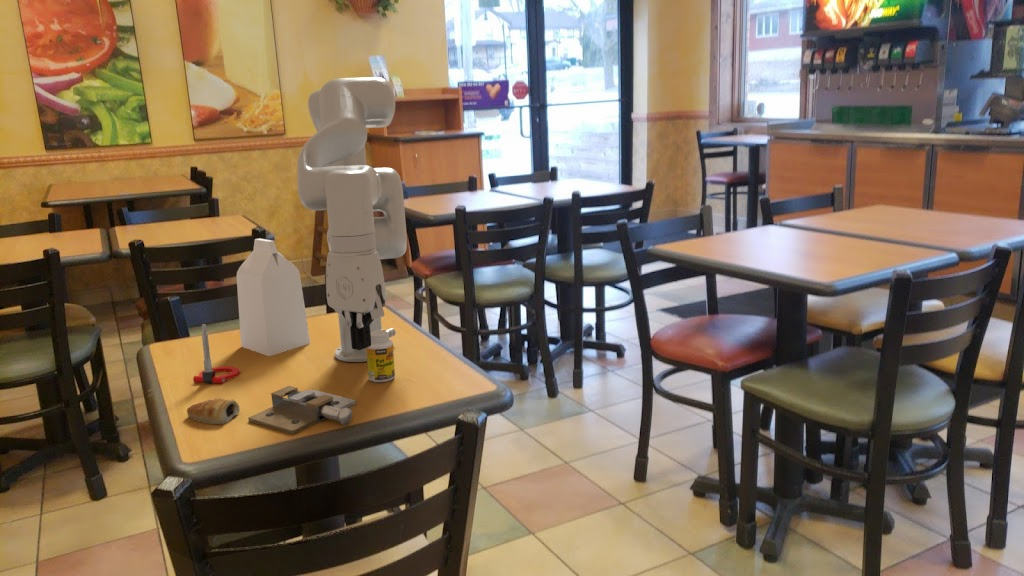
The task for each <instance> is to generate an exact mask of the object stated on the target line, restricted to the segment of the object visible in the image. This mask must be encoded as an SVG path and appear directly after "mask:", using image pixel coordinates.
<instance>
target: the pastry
mask: <svg viewBox="0 0 1024 576" xmlns="http://www.w3.org/2000/svg"><path fill="white" fill-rule="evenodd" d="M240 410H241V409H240V405H239V403H238V402H237V401H236V400H235V399H233V398H232V399H225V398H220V397H219V398H218V397H217V398H214V399H208V400H205V401H202V402H198V403H195V404H192V405H191V406H189V407H187V409H186V412H187V416H188V417H189V418H190V419H191V420H194V419H195V421H196V420H197V422H198V423H203V424H209V425H224V424H227V423H229V422H230V421H231V420H233V418H234V417H235V416H237V415H238V414H239V412H240Z"/></svg>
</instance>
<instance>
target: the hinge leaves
mask: <svg viewBox="0 0 1024 576" xmlns="http://www.w3.org/2000/svg"><path fill="white" fill-rule="evenodd" d="M270 394H271V395H270V396H271V403H272V407H270V408H267V409H265V410H263V411H260V412H257V413H256V414H253V415H251V416H249V417H248V423H252V424H256V425H259V426H262V427H266V428H269V429H272V430H276V431H279V432H282V433H286V434H289V435H292V436H293V435H294V436H295V434H298V433H299V432H302V431H304V430H306V429H309V428H311V427H312V426H314V425H316V424H318V423H320V422H322V421H324V420H326V419H328V418H327V417H323V416H319V411H318V407H319V406H321V405H323V404H325V405H329V406H332V407H336V408H340V409H342V408H349V409H350V408H351V407H352V406H356V404H357V401H356V399H352V398H349V397H344V396H341V395H336V394H332V393H328V392H324V391H320V390H318V389H317V390H316V389H309V390H307V389H306V390H303V391H300V390H299V389H298V387H295V386H291V385H287V386H285V387H283V388H280V389H278V390H275V391H273V392H271V393H270ZM286 397H287V398H286ZM303 400H310V401H308V402H306V403H302V402H301V401H303Z"/></svg>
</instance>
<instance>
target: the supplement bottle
mask: <svg viewBox="0 0 1024 576" xmlns="http://www.w3.org/2000/svg"><path fill="white" fill-rule="evenodd" d="M386 330H387V329H386ZM386 330H384V329H382V330H376V331H372V332H370V334H371V346H370V347H367V348H366V351H367V361H366V363H367V373H368V375H367V376H368V379H369V380H370V381H371V382H373V383H386V382H390V381H392V380H394V378H395V377H396V373H395V370H396V369H395V358H394V356H395V355H394V344H393V340H392V339H390V338H389V336H388V331H386Z"/></svg>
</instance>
